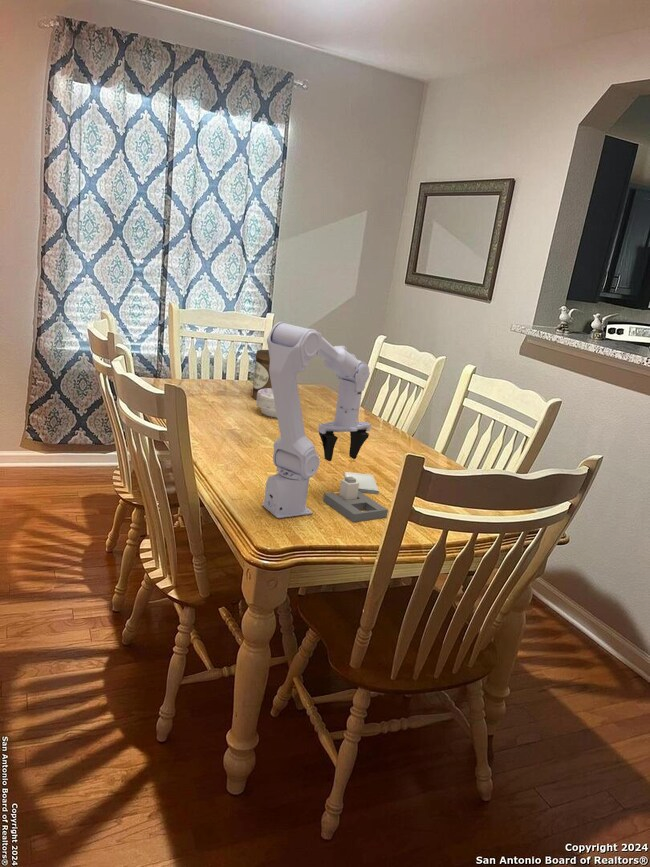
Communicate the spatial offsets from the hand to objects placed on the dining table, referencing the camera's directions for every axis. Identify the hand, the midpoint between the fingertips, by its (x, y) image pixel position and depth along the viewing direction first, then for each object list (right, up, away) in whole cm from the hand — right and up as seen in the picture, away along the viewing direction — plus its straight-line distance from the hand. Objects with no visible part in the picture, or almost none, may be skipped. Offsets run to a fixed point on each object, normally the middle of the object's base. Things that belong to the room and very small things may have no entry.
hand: (340, 458), depth 166 cm
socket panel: (+3, -12, -6) cm, 14 cm away
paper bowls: (-21, +13, +69) cm, 74 cm away
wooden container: (-25, +20, +91) cm, 96 cm away
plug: (+2, -11, -3) cm, 12 cm away
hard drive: (+6, -8, +12) cm, 15 cm away
